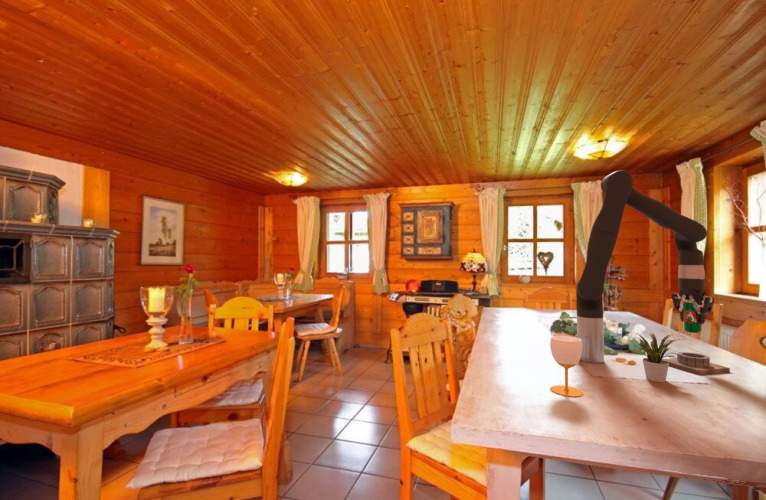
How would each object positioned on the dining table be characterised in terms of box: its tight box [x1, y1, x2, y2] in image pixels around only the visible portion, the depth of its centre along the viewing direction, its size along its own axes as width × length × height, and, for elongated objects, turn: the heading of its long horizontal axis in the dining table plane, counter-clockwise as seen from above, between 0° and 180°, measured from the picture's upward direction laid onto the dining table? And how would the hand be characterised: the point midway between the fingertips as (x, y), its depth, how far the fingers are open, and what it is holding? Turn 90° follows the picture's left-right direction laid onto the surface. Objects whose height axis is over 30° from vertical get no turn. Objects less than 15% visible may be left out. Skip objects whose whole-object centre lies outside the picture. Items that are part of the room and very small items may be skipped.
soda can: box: [683, 299, 703, 334], centre depth 133 cm, size 5×5×12 cm
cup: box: [549, 335, 584, 398], centre depth 109 cm, size 9×9×16 cm
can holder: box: [662, 351, 731, 376], centre depth 133 cm, size 14×14×4 cm
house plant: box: [634, 330, 686, 383], centre depth 119 cm, size 14×14×16 cm
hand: (692, 322), depth 133 cm, fingers closed on soda can, 5 cm apart
